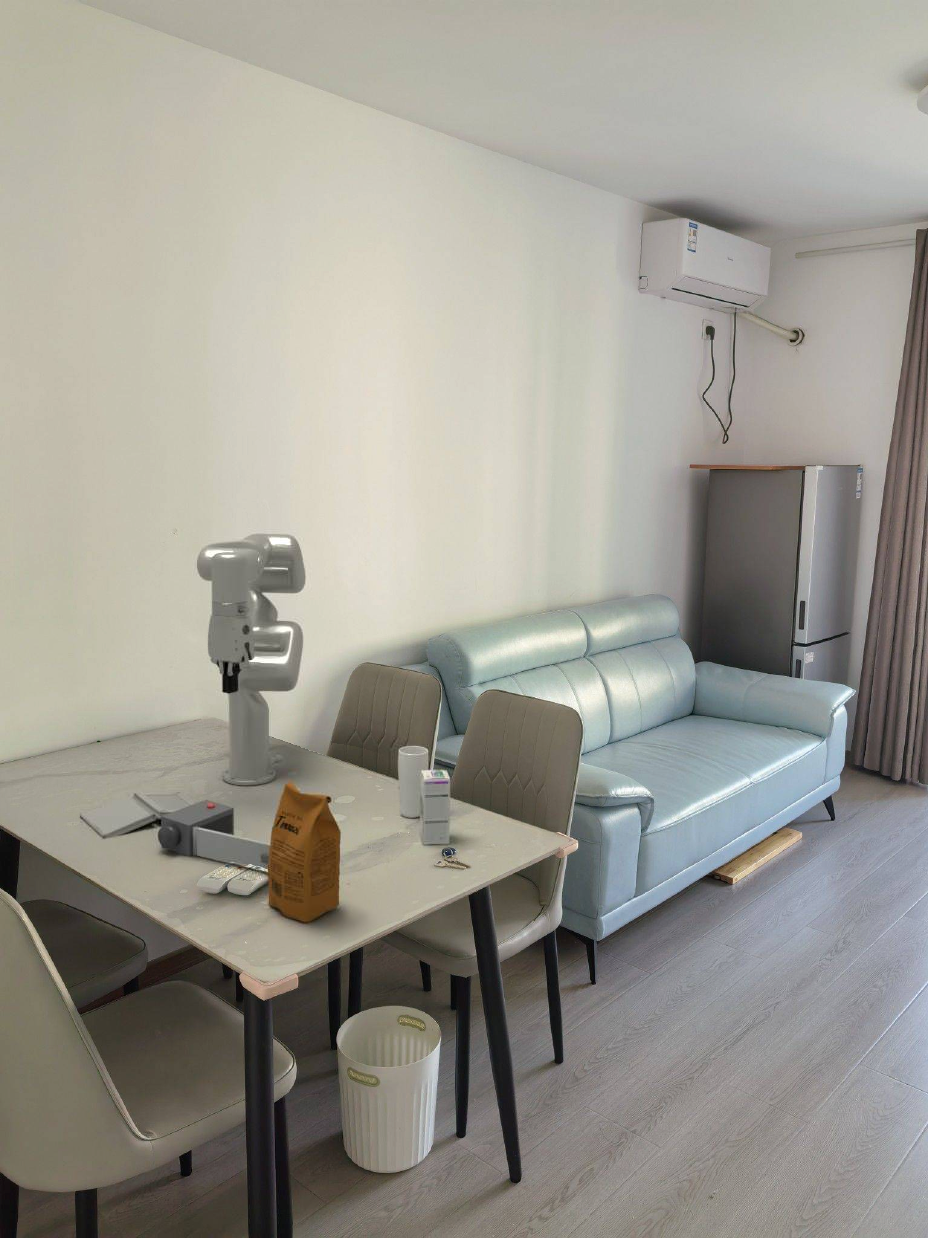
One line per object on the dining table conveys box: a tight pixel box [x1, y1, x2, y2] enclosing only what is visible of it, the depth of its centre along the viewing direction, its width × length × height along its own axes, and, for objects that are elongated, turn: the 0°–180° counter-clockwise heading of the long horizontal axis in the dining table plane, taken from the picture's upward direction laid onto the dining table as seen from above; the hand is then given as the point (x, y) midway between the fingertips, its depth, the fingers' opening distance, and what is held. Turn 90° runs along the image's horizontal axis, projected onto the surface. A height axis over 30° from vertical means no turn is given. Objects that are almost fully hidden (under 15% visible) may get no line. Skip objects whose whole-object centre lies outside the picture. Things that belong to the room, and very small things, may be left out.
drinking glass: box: [397, 745, 429, 819], centre depth 214 cm, size 7×7×15 cm
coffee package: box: [267, 780, 342, 923], centre depth 167 cm, size 10×12×22 cm
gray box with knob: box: [157, 799, 235, 857], centre depth 194 cm, size 14×8×7 cm, turn 148°
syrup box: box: [419, 769, 451, 846], centre depth 200 cm, size 6×6×14 cm
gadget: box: [79, 791, 197, 840], centre depth 208 cm, size 23×15×4 cm, turn 130°
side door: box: [192, 827, 271, 869], centre depth 184 cm, size 20×2×6 cm, turn 67°
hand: (230, 691), depth 209 cm, fingers closed
